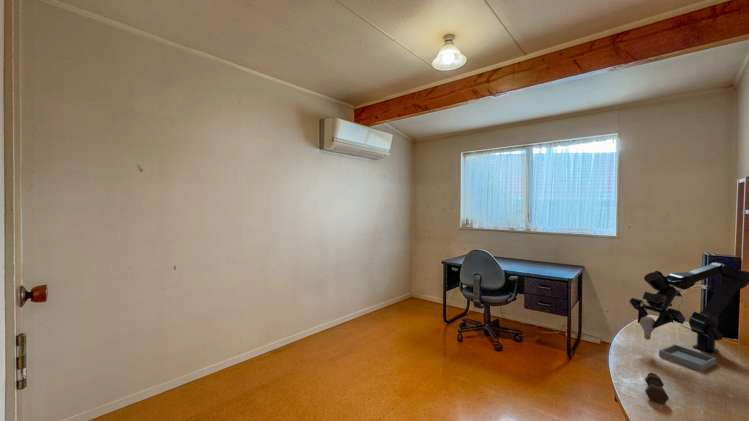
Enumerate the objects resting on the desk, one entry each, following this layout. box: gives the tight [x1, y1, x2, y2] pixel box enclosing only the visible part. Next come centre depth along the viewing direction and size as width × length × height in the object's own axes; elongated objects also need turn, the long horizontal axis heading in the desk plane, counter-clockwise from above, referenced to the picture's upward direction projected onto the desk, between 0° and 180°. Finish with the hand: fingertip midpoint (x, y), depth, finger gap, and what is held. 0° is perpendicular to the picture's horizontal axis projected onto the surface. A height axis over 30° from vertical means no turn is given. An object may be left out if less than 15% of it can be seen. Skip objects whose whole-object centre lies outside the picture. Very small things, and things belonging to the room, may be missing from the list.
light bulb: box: [639, 316, 656, 341], centre depth 138 cm, size 6×5×10 cm
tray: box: [658, 343, 717, 372], centre depth 132 cm, size 13×13×2 cm
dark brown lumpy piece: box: [644, 372, 670, 405], centre depth 110 cm, size 6×5×15 cm
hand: (645, 325), depth 138 cm, fingers closed on light bulb, 5 cm apart
